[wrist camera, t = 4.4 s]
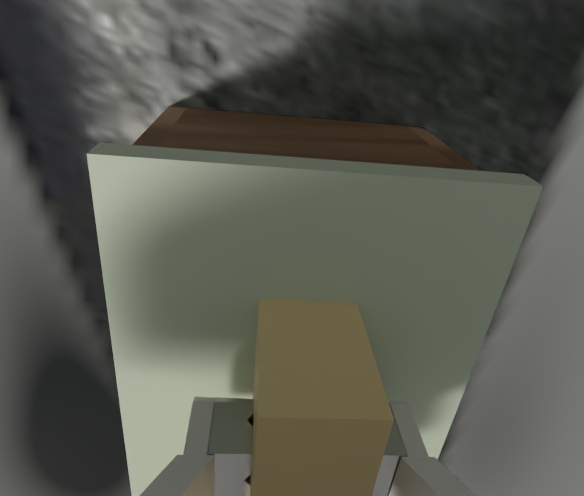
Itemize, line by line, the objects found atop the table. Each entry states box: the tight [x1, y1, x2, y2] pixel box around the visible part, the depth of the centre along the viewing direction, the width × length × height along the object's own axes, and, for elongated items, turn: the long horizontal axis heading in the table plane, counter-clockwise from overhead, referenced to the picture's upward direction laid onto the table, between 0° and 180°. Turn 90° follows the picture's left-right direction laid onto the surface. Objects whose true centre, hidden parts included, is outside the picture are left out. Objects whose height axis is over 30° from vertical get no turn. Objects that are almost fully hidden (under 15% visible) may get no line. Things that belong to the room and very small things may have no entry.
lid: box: [87, 143, 544, 496], centre depth 11 cm, size 13×10×5 cm
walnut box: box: [133, 106, 481, 171], centre depth 16 cm, size 12×9×6 cm
